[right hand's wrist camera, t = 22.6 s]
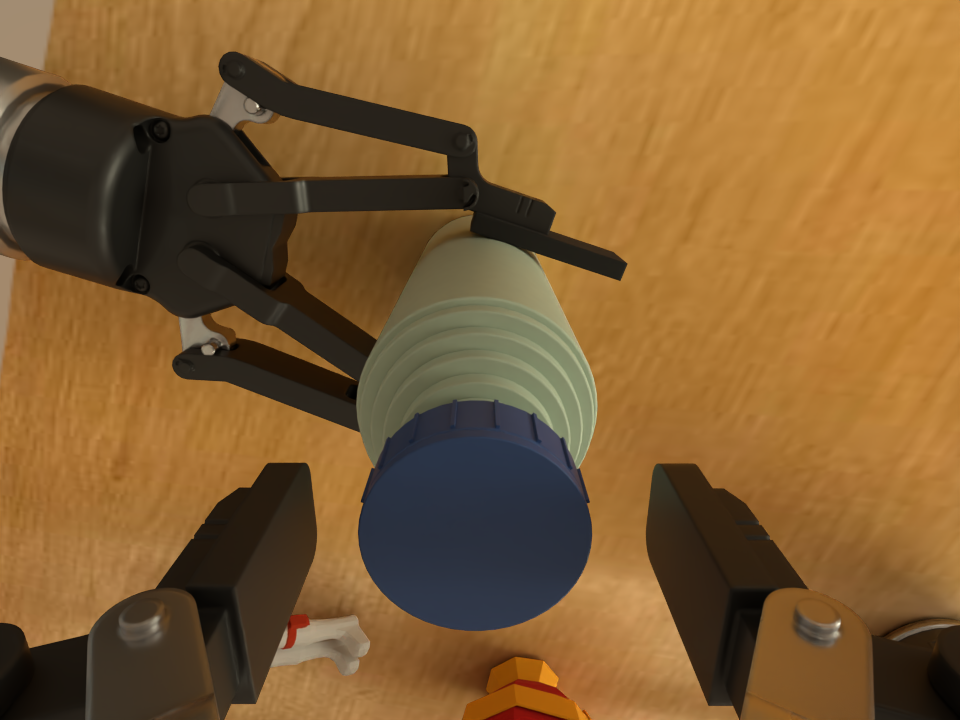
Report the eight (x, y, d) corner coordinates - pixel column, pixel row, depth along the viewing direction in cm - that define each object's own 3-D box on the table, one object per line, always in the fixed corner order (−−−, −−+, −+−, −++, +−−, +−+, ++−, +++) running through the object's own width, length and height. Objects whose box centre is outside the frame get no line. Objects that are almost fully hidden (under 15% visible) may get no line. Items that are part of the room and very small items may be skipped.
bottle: (513, 347, 34) (566, 680, 13) (404, 310, 33) (273, 602, 12) (556, 238, 31) (703, 429, 11) (440, 196, 31) (357, 314, 10)
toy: (316, 741, 41) (58, 808, 32) (293, 659, 46) (61, 695, 36) (416, 571, 36) (143, 589, 27) (378, 498, 41) (134, 491, 31)
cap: (345, 416, 12) (325, 456, 10) (566, 378, 11) (579, 414, 10) (397, 589, 13) (386, 646, 12) (592, 560, 13) (607, 615, 11)
